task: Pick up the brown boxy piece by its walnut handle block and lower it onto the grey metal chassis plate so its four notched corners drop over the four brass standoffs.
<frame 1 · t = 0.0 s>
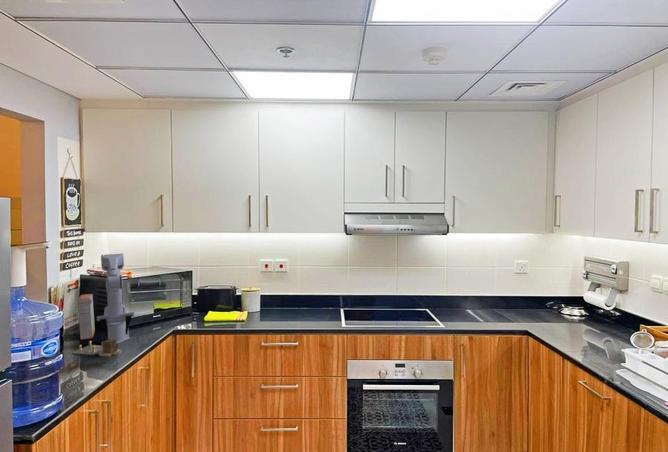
hand: (116, 335, 193), 11 cm above the worktop, tool pointing down, fingers open, 7 cm apart
chassis: (92, 350, 208), on the worktop
brown boxy piece: (110, 353, 203), on the worktop
cracker box: (87, 336, 234), on the worktop
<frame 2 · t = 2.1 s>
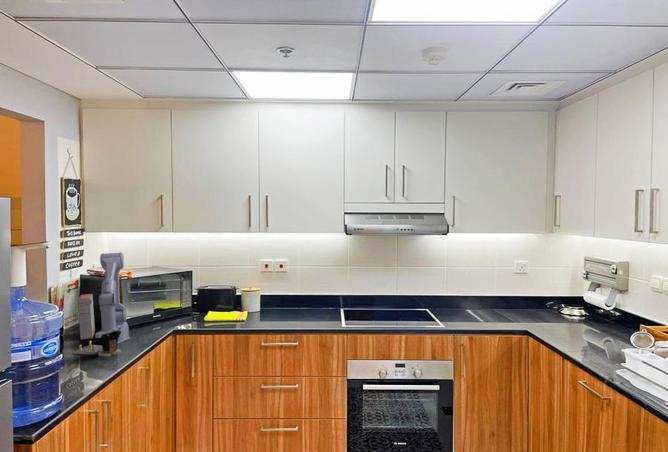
hand: (110, 349, 203), 2 cm above the worktop, tool pointing down, fingers open, 4 cm apart
brown boxy piece: (109, 353, 203), on the worktop, touching gripper
everything else where it was.
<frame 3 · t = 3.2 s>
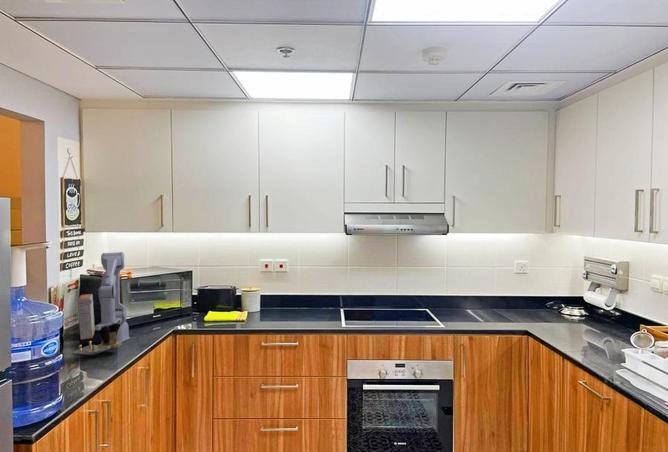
hand: (109, 341, 203), 5 cm above the worktop, tool pointing down, fingers closed on brown boxy piece, 4 cm apart
brown boxy piece: (109, 346, 203), point 3 cm above the worktop, touching gripper
everything else where it was.
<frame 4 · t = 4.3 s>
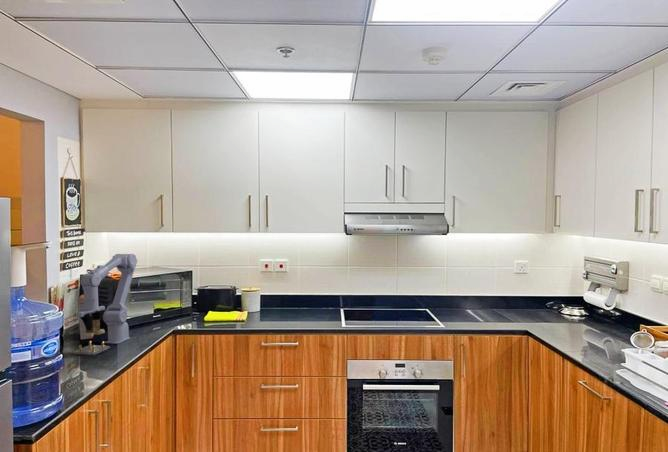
hand: (92, 329, 206), 10 cm above the worktop, tool pointing down, fingers closed on brown boxy piece, 4 cm apart
brown boxy piece: (93, 333, 207), point 8 cm above the worktop, touching gripper
everything else where it was.
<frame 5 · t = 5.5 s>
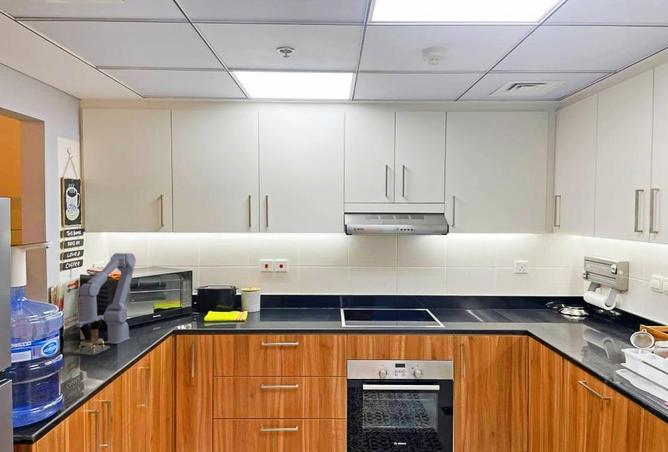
hand: (91, 338, 207), 6 cm above the worktop, tool pointing down, fingers closed on brown boxy piece, 4 cm apart
brown boxy piece: (91, 343, 207), point 4 cm above the worktop, touching gripper
everything else where it was.
when the fingers open (4 cm above the worktop, at t = 6.3 s): brown boxy piece drops 1 cm, resting on chassis.
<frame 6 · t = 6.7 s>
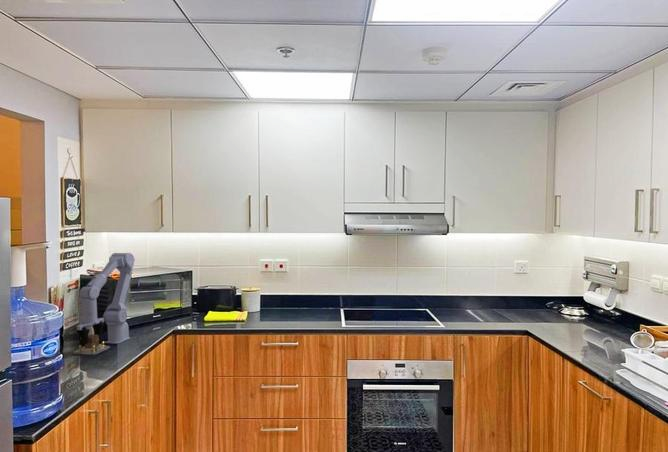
hand: (91, 341, 207), 4 cm above the worktop, tool pointing down, fingers open, 7 cm apart
brown boxy piece: (92, 348, 207), point 1 cm above the worktop, touching chassis
everything else where it was.
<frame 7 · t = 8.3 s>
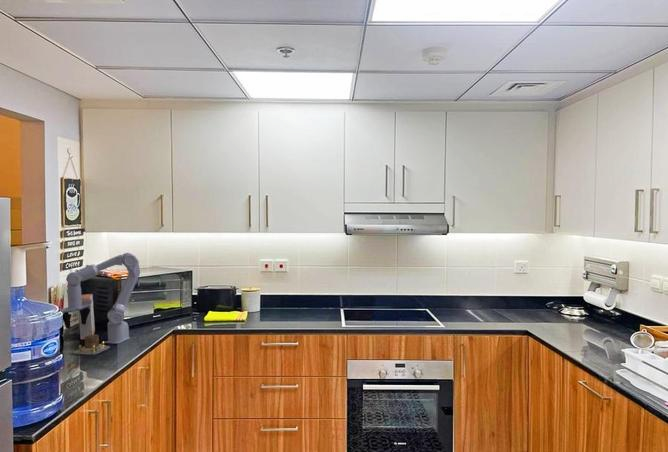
hand: (76, 326, 212), 10 cm above the worktop, tool pointing down, fingers open, 7 cm apart
nothing on the worktop moved.
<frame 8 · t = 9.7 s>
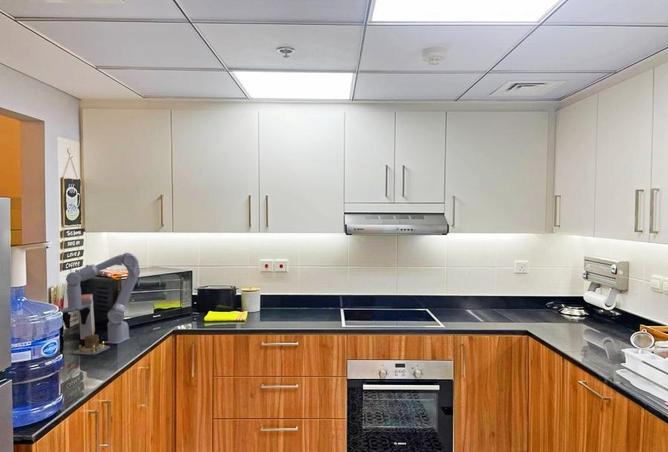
hand: (75, 326, 213), 10 cm above the worktop, tool pointing down, fingers open, 7 cm apart
nothing on the worktop moved.
at the end: brown boxy piece 0.2 cm off-centre on the chassis, point 1.0 cm above the chassis's base; brown boxy piece tilted 0°; the gripper is holding nothing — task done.
